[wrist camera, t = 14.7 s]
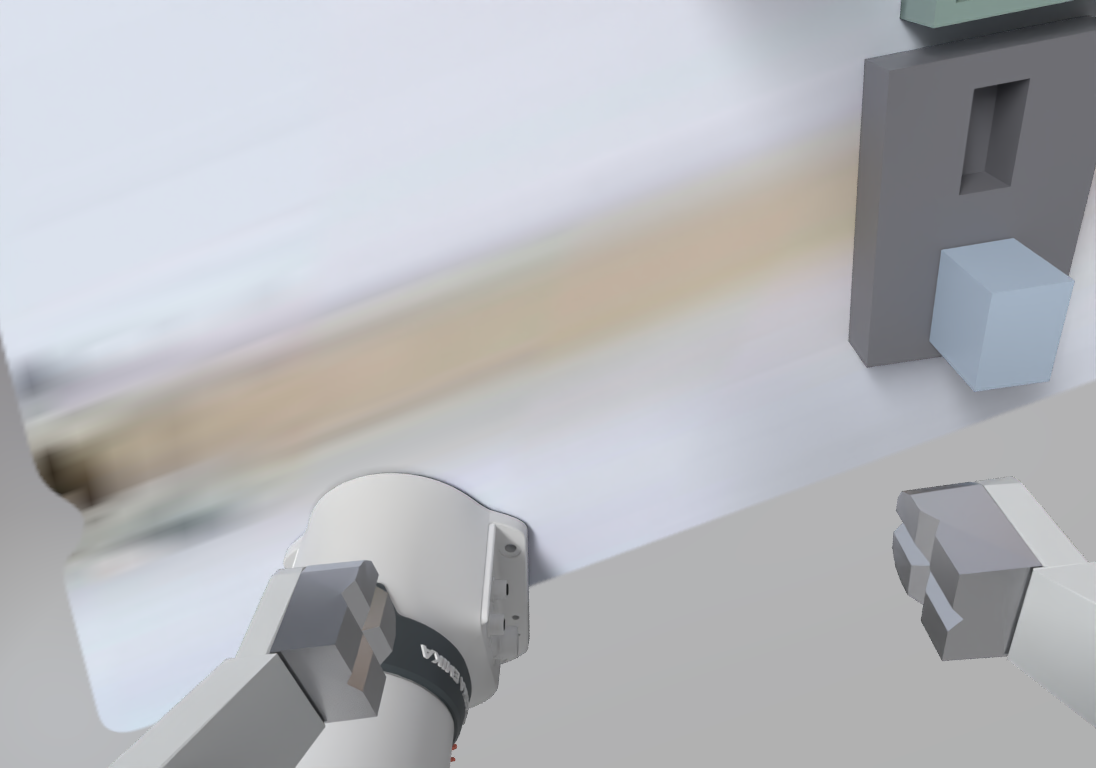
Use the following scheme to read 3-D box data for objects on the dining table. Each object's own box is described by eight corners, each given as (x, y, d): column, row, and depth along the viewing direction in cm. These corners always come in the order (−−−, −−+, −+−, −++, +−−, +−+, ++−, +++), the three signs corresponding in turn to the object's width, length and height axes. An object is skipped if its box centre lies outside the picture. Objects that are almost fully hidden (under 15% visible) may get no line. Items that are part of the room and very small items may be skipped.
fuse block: (1022, 314, 41) (1052, 340, 38) (848, 341, 42) (866, 367, 40) (1086, 15, 32) (1130, 23, 30) (864, 59, 33) (889, 70, 31)
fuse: (972, 308, 40) (1049, 381, 34) (909, 318, 41) (974, 391, 34) (987, 219, 37) (1074, 280, 31) (919, 230, 38) (992, 293, 31)
